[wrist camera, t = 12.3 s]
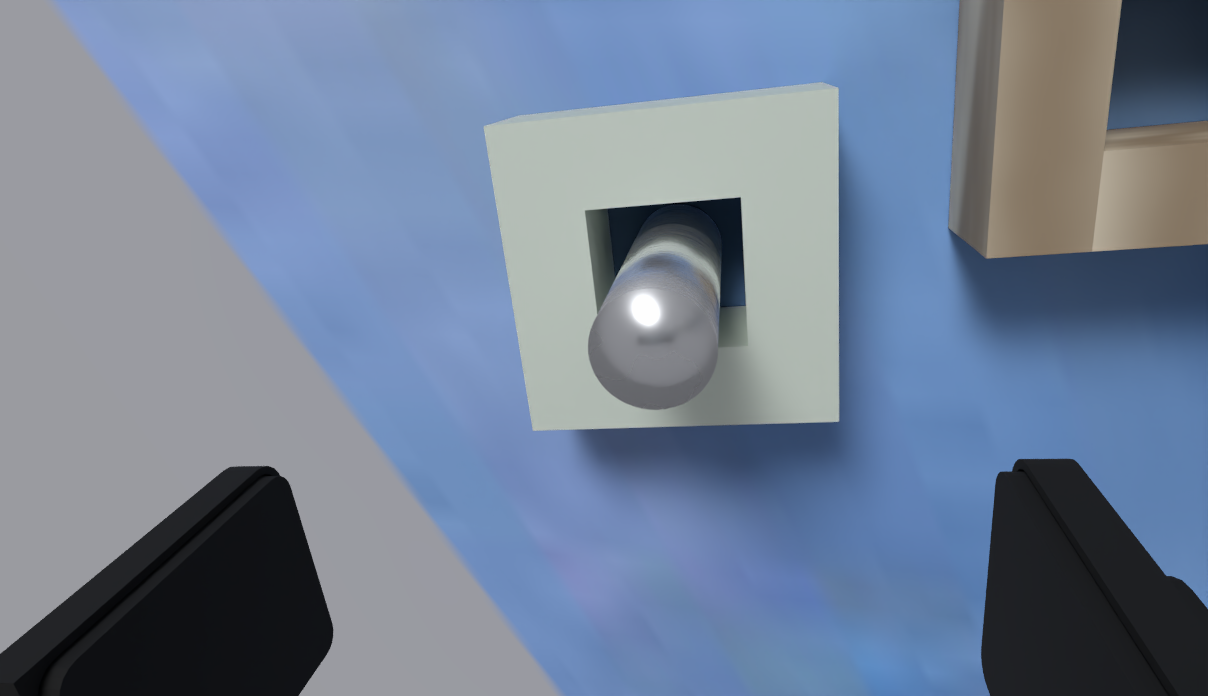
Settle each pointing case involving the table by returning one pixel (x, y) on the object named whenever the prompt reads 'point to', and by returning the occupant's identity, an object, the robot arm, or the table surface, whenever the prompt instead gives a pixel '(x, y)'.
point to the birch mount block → (1062, 140)
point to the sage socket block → (670, 175)
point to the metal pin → (662, 313)
